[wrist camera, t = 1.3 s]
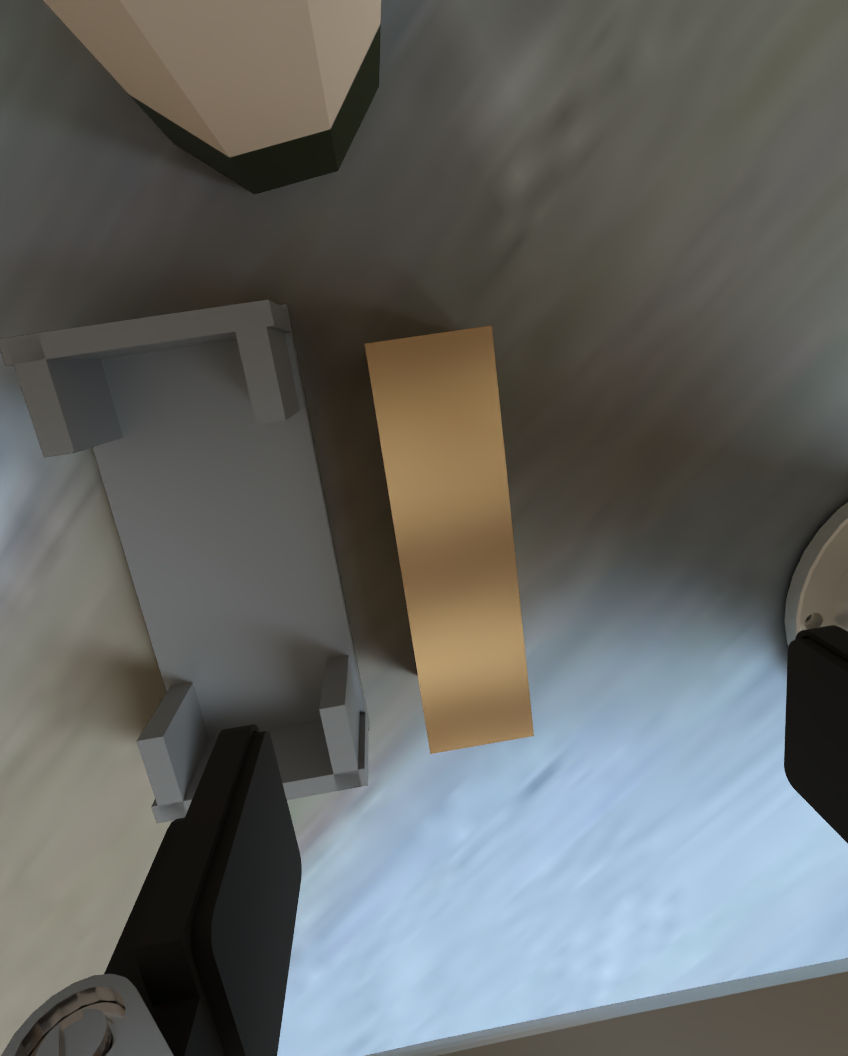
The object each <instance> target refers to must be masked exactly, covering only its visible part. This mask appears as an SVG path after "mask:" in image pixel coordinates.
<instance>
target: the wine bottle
mask: <svg viewBox="0 0 848 1056" xmlns="http://www.w3.org/2000/svg"><path fill="white" fill-rule="evenodd" d="M43 1H44V2H45V3H46V4H47V5H48V6H49V7H50V9H51V10H52V11H53V12H54V13H55V14H56V15H57V16H58V17H59V18H60V19H61V21H62V22H63V23H64V24H65V25H66V26H67V27H68V28H69V29H70V30H71V32H72V33H73V34H74V35H75V36H76V37H77V38H78V39H79V40H80V41H81V42H82V44H83V45H84V46H85V47H86V48H87V49H88V50H89V51H90V52H91V53H92V55H93V56H94V57H95V58H96V59H97V60H98V61H99V62H100V63H101V64H102V65H103V67H104V68H105V69H106V70H107V71H108V72H109V73H110V74H111V75H112V76H113V78H114V79H115V80H116V81H117V82H118V83H119V84H120V85H121V86H122V87H123V88H124V90H125V91H126V92H127V93H128V94H129V95H130V96H131V97H132V98H133V99H134V101H135V102H136V103H137V104H138V105H139V106H140V107H141V108H142V109H143V110H144V111H145V113H146V114H147V115H148V116H149V117H150V118H151V119H152V120H153V121H154V122H155V124H156V125H157V126H158V127H159V128H160V129H161V130H162V131H163V132H164V133H165V134H166V136H167V137H168V138H169V139H170V140H171V141H172V142H173V143H174V144H175V145H177V146H179V147H180V148H182V149H183V150H185V151H187V152H188V153H190V154H191V155H193V156H195V157H196V158H198V159H200V160H201V161H203V162H204V163H206V164H208V165H209V166H211V167H212V168H214V169H216V170H217V171H219V172H221V173H222V174H224V175H225V176H227V177H229V178H230V179H232V180H233V181H235V182H237V183H238V184H240V185H241V186H243V187H245V188H246V189H248V190H250V191H251V192H253V193H254V194H257V193H261V192H264V191H268V190H271V189H275V188H278V187H282V186H286V185H289V184H293V183H296V182H300V181H303V180H307V179H310V178H314V177H317V176H321V175H325V174H328V173H332V172H335V171H338V169H339V167H340V165H341V163H342V161H343V159H344V157H345V155H346V153H347V151H348V149H349V147H350V144H351V142H352V140H353V138H354V136H355V134H356V132H357V130H358V128H359V126H360V124H361V122H362V120H363V118H364V116H365V113H366V111H367V109H368V107H369V105H370V103H371V101H372V99H373V97H374V95H375V93H376V91H377V89H378V87H379V63H380V25H381V0H43Z"/></svg>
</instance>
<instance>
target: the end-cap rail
mask: <svg viewBox="0 0 848 1056" xmlns="http://www.w3.org/2000/svg"><path fill="white" fill-rule="evenodd" d="M0 350H1V353H2V356H3V359H4V362H5V365H14V367H15V370H16V373H17V376H18V379H19V382H20V386H21V389H22V392H23V395H24V398H25V401H26V404H27V407H28V410H29V413H30V416H31V419H32V422H33V425H34V428H35V431H36V435H37V438H38V441H39V444H40V447H41V450H42V453H43V456H44V457H50V456H57V455H63V454H70V453H76V452H79V451H82V450H85V449H88V448H92V447H93V451H94V454H95V457H96V461H97V464H98V467H99V471H100V474H101V477H102V480H103V484H104V487H105V490H106V494H107V497H108V500H109V504H110V507H111V510H112V514H113V517H114V520H115V524H116V527H117V530H118V533H119V537H120V540H121V543H122V547H123V550H124V553H125V557H126V560H127V563H128V567H129V570H130V573H131V577H132V580H133V583H134V586H135V590H136V593H137V596H138V600H139V603H140V606H141V610H142V613H143V616H144V620H145V623H146V626H147V629H148V633H149V636H150V639H151V643H152V646H153V649H154V653H155V656H156V659H157V663H158V666H159V669H160V673H161V676H162V679H163V682H164V686H165V689H166V692H167V693H166V694H165V696H164V698H163V699H162V701H161V703H160V704H159V706H158V707H157V709H156V711H155V712H154V714H153V715H152V717H151V719H150V720H149V722H148V724H147V725H146V727H145V728H144V730H143V732H142V733H141V735H140V737H139V738H138V740H137V744H138V747H139V750H140V753H141V756H142V759H143V762H144V765H145V768H146V771H147V774H148V778H149V781H150V784H151V787H152V790H153V793H154V796H155V800H154V803H153V805H152V810H153V813H154V816H155V819H156V822H157V823H161V822H167V821H172V820H176V819H179V818H184V817H185V816H186V813H187V811H188V808H189V806H190V804H191V801H192V799H193V796H194V794H195V791H196V789H197V786H198V784H199V782H200V779H201V777H202V774H203V772H204V769H205V767H206V765H207V762H208V760H209V757H210V755H211V752H212V750H213V747H214V745H215V743H216V740H217V738H218V735H219V733H220V732H221V730H223V729H229V728H234V727H240V726H246V725H252V724H255V725H256V726H257V727H258V729H259V732H262V731H268V732H269V733H270V736H271V739H272V743H273V747H274V751H275V755H276V759H277V763H278V767H279V771H280V775H281V779H282V783H283V787H284V791H285V795H286V799H287V800H289V799H294V798H300V797H306V796H311V795H317V794H322V793H328V792H333V791H339V790H344V789H350V788H355V787H361V786H367V785H368V731H369V720H368V714H367V709H366V704H365V699H364V694H363V689H362V684H361V679H360V674H359V669H358V664H357V659H356V653H355V648H354V643H353V638H352V633H351V628H350V623H349V618H348V613H347V608H346V603H345V597H344V592H343V587H342V582H341V577H340V572H339V567H338V562H337V557H336V552H335V547H334V542H333V536H332V531H331V526H330V521H329V516H328V511H327V506H326V501H325V496H324V491H323V486H322V480H321V475H320V470H319V465H318V460H317V455H316V450H315V445H314V440H313V435H312V430H311V425H310V419H309V414H308V409H307V404H306V399H305V394H304V389H303V384H302V379H301V374H300V369H299V363H298V358H297V353H296V348H295V343H294V338H293V333H292V328H291V323H290V318H289V313H288V307H287V305H286V304H282V305H277V304H276V303H274V302H272V301H271V300H269V299H268V300H261V301H254V302H247V303H240V304H233V305H227V306H220V307H213V308H206V309H199V310H192V311H185V312H178V313H171V314H165V315H158V316H151V317H144V318H137V319H130V320H123V321H116V322H110V323H103V324H96V325H89V326H82V327H75V328H68V329H61V330H55V331H48V332H41V333H34V334H27V335H20V336H13V337H6V338H0Z"/></svg>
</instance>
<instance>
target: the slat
mask: <svg viewBox="0 0 848 1056" xmlns="http://www.w3.org/2000/svg"><path fill="white" fill-rule="evenodd" d="M365 349H366V355H367V362H368V368H369V374H370V380H371V386H372V393H373V399H374V405H375V411H376V418H377V424H378V430H379V436H380V443H381V449H382V455H383V461H384V467H385V474H386V480H387V486H388V492H389V499H390V505H391V511H392V517H393V524H394V530H395V536H396V542H397V548H398V555H399V561H400V567H401V573H402V580H403V586H404V592H405V598H406V605H407V611H408V617H409V623H410V629H411V636H412V642H413V648H414V654H415V661H416V667H417V673H418V679H419V686H420V692H421V698H422V704H423V710H424V717H425V723H426V729H427V735H428V742H429V748H430V754H432V753H438V752H444V751H450V750H455V749H461V748H467V747H473V746H478V745H484V744H490V743H495V742H501V741H507V740H513V739H518V738H524V737H530V736H534V733H533V723H532V713H531V704H530V694H529V684H528V674H527V665H526V655H525V645H524V635H523V626H522V616H521V606H520V596H519V587H518V577H517V567H516V557H515V548H514V538H513V528H512V518H511V509H510V499H509V489H508V479H507V470H506V460H505V450H504V440H503V431H502V421H501V411H500V401H499V392H498V382H497V372H496V362H495V353H494V343H493V333H492V325H491V326H484V327H477V328H470V329H463V330H456V331H449V332H442V333H435V334H428V335H421V336H415V337H408V338H401V339H394V340H387V341H380V342H373V343H366V344H365Z"/></svg>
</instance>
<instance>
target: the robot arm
mask: <svg viewBox="0 0 848 1056" xmlns="http://www.w3.org/2000/svg"><path fill="white" fill-rule="evenodd" d="M785 630H786V638H787V644H788V667H787V696H786V726H785V755H784V769H785V773H786V776H787V778H788V781H789V782H790V784H791V785H792V787H793V788H794V789H795V790H796V791H797V792H798V793H799V794H800V795H801V796H802V797H803V798H804V799H805V800H806V801H807V802H808V803H809V804H810V805H811V806H812V807H813V808H814V810H815V811H816V812H817V813H818V814H819V815H820V816H821V817H822V818H823V819H824V820H825V821H826V822H827V823H828V824H829V825H830V826H831V827H832V828H833V829H834V830H835V831H836V832H837V833H838V834H839V835H840V836H841V837H842V838H843V839H844V840H845V841H846V842H847V843H848V502H847V503H846V504H844V505H843V506H842V507H841V508H839V509H838V510H837V511H836V512H835V513H834V514H833V515H832V516H831V517H830V519H829V520H828V521H827V522H826V523H825V524H824V525H823V526H822V527H821V528H820V529H819V530H818V532H817V533H816V535H815V536H814V538H813V539H812V541H811V542H810V544H809V545H808V547H807V548H806V550H805V551H804V553H803V555H802V557H801V559H800V561H799V563H798V565H797V568H796V570H795V572H794V574H793V577H792V580H791V584H790V588H789V591H788V595H787V599H786V610H785ZM300 883H301V857H300V852H299V848H298V844H297V840H296V836H295V832H294V828H293V824H292V820H291V815H290V811H289V807H288V803H287V799H286V795H285V791H284V787H283V783H282V779H281V775H280V771H279V767H278V763H277V759H276V755H275V751H274V747H273V743H272V739H271V736H270V733H269V732H268V731H262V732H259V729H258V727H257V726H256V725H255V724H252V725H246V726H240V727H234V728H229V729H223V730H221V732H220V733H219V735H218V738H217V740H216V743H215V745H214V747H213V750H212V752H211V755H210V757H209V760H208V762H207V765H206V767H205V769H204V772H203V774H202V777H201V779H200V782H199V784H198V786H197V789H196V791H195V794H194V796H193V799H192V801H191V804H190V806H189V808H188V811H187V813H186V816H185V817H184V818H179V819H176V820H174V821H173V822H172V823H171V824H170V826H169V828H168V829H167V831H166V834H165V836H164V838H163V841H162V843H161V845H160V847H159V850H158V852H157V854H156V857H155V859H154V861H153V863H152V866H151V868H150V870H149V873H148V875H147V877H146V880H145V882H144V884H143V886H142V889H141V891H140V893H139V896H138V898H137V900H136V902H135V905H134V907H133V909H132V912H131V914H130V916H129V918H128V921H127V923H126V925H125V928H124V930H123V932H122V935H121V937H120V939H119V941H118V944H117V946H116V948H115V951H114V953H113V955H112V957H111V960H110V962H109V964H108V967H107V969H106V971H105V973H104V974H103V975H94V976H91V977H88V978H86V979H83V980H81V981H78V982H75V983H73V984H71V985H70V986H68V987H66V988H65V989H63V990H61V991H60V992H58V993H57V994H55V995H53V996H52V997H51V998H50V999H48V1000H47V1001H46V1002H45V1003H44V1004H43V1005H41V1006H40V1007H39V1008H38V1009H37V1010H35V1011H34V1012H33V1013H32V1014H31V1015H30V1016H29V1018H28V1019H27V1020H26V1021H25V1022H24V1023H23V1025H22V1026H21V1027H20V1028H19V1029H18V1030H17V1031H16V1033H15V1034H14V1035H13V1037H12V1039H11V1040H10V1042H9V1044H8V1045H7V1047H6V1049H5V1050H4V1052H3V1054H2V1055H1V1056H277V1051H278V1044H279V1037H280V1029H281V1022H282V1015H283V1007H284V1000H285V993H286V986H287V978H288V971H289V964H290V956H291V949H292V942H293V934H294V927H295V920H296V912H297V905H298V898H299V891H300ZM366 1056H848V958H845V959H840V960H835V961H830V962H825V963H820V964H815V965H809V966H804V967H799V968H794V969H789V970H784V971H779V972H773V973H768V974H763V975H758V976H753V977H748V978H743V979H737V980H732V981H727V982H722V983H717V984H712V985H707V986H702V987H697V988H692V989H687V990H681V991H676V992H671V993H666V994H661V995H656V996H651V997H646V998H641V999H636V1000H631V1001H626V1002H621V1003H616V1004H611V1005H606V1006H601V1007H596V1008H591V1009H586V1010H581V1011H576V1012H571V1013H566V1014H561V1015H556V1016H551V1017H547V1018H542V1019H537V1020H532V1021H527V1022H522V1023H517V1024H512V1025H507V1026H502V1027H497V1028H492V1029H487V1030H482V1031H477V1032H472V1033H468V1034H463V1035H458V1036H453V1037H448V1038H443V1039H438V1040H433V1041H429V1042H424V1043H420V1044H415V1045H411V1046H406V1047H402V1048H397V1049H393V1050H388V1051H384V1052H380V1053H375V1054H371V1055H366Z"/></svg>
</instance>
